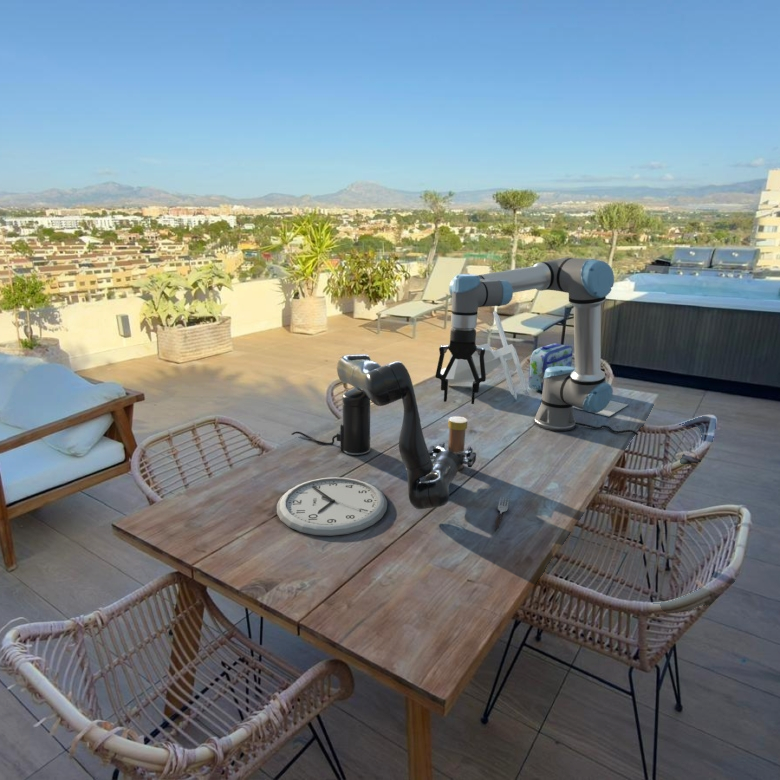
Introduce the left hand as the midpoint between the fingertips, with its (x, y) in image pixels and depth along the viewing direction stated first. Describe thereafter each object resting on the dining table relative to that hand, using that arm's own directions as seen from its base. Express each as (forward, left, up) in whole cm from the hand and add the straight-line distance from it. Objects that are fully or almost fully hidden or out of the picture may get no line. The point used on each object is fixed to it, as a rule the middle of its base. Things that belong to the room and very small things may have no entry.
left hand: (456, 447), depth 166 cm
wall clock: (-26, -37, -7) cm, 45 cm away
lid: (0, 0, +9) cm, 9 cm away
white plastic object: (-7, +81, -7) cm, 82 cm away
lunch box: (+23, +101, -7) cm, 104 cm away
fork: (+18, -27, -7) cm, 33 cm away
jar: (0, 0, -7) cm, 7 cm away
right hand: (0, 0, +15) cm, 16 cm away
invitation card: (+46, +81, -7) cm, 93 cm away
